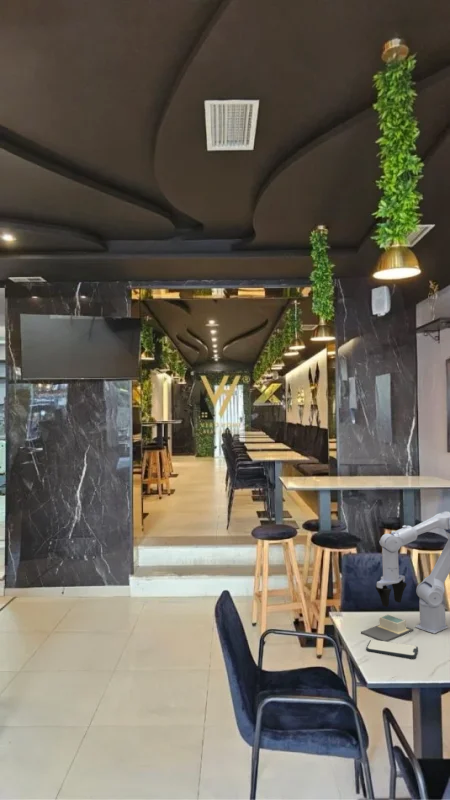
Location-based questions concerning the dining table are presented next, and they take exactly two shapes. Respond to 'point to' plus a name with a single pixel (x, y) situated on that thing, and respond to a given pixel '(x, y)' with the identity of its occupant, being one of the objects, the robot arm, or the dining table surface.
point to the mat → (384, 633)
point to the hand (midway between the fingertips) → (391, 604)
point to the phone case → (392, 649)
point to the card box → (392, 623)
